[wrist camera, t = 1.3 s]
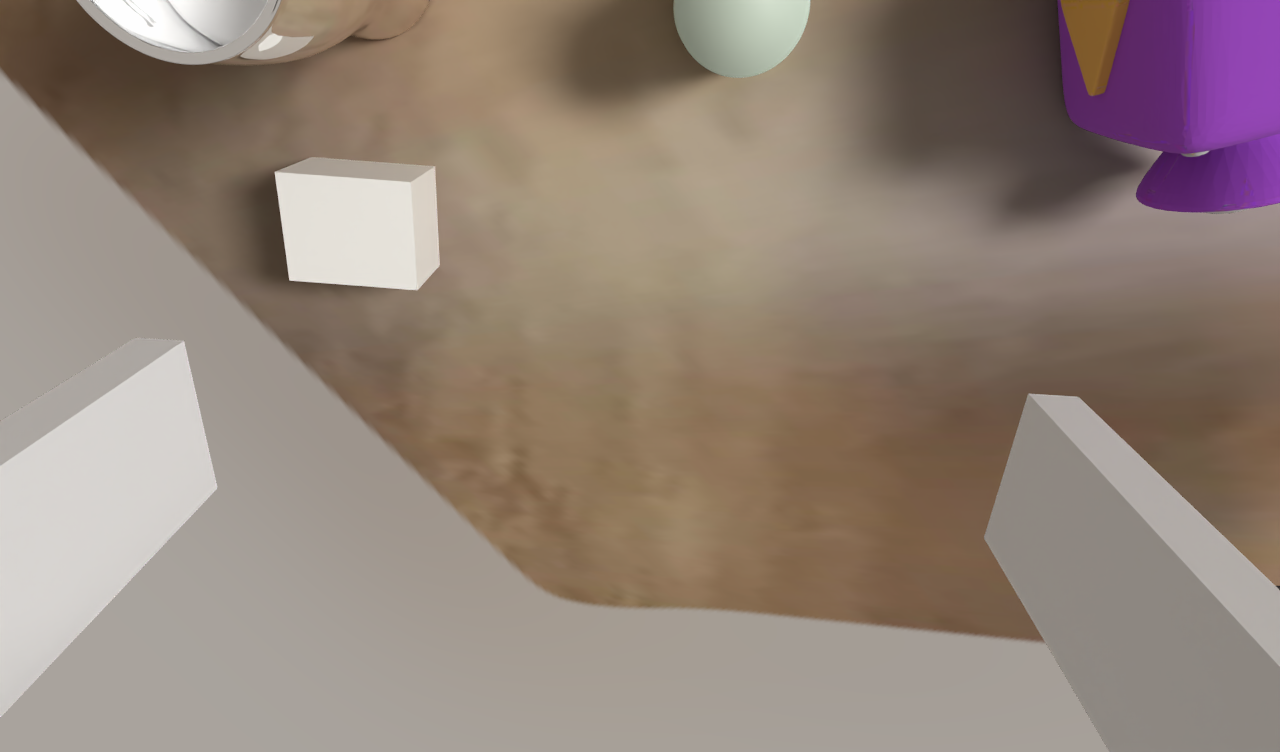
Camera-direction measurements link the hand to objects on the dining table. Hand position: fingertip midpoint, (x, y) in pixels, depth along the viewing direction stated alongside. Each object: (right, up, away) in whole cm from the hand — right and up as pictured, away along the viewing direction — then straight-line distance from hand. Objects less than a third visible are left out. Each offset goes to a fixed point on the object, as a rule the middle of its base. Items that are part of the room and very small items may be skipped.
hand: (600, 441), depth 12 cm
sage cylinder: (+5, +17, +21) cm, 28 cm away
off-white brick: (-12, +9, +26) cm, 30 cm away
